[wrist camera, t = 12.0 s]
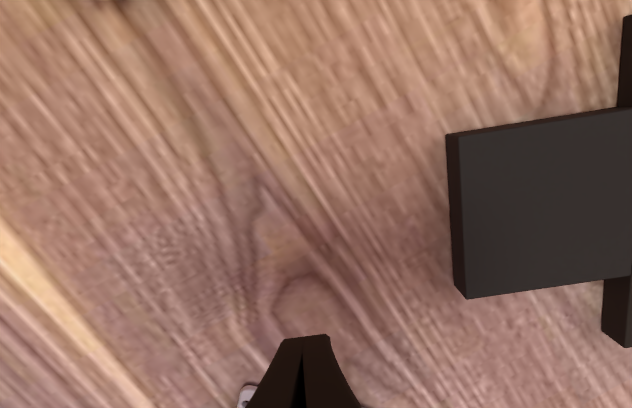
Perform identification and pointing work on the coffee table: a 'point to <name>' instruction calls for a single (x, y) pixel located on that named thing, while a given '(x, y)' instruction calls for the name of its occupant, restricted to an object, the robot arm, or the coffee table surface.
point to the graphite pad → (541, 202)
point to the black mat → (628, 292)
